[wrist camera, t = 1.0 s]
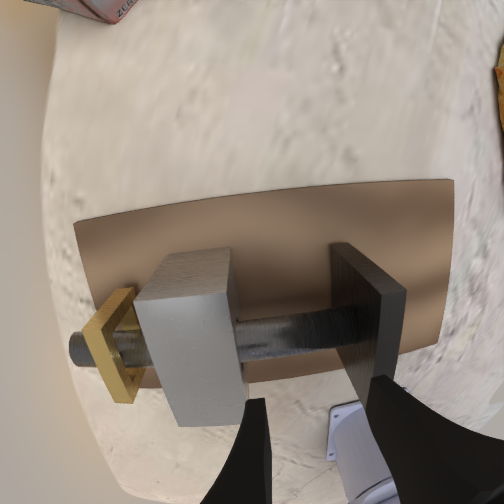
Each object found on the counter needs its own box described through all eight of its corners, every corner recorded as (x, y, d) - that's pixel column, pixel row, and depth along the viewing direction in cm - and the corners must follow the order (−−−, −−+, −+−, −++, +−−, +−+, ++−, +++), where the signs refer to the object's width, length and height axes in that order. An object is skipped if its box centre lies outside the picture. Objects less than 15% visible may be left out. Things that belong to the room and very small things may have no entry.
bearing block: (247, 353, 21) (250, 423, 14) (193, 357, 21) (179, 426, 14) (230, 245, 18) (226, 292, 12) (168, 253, 18) (133, 301, 12)
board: (434, 339, 22) (437, 343, 21) (129, 383, 22) (127, 387, 21) (449, 179, 18) (454, 180, 17) (77, 221, 18) (73, 223, 17)
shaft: (347, 336, 20) (386, 407, 13) (116, 359, 20) (80, 428, 13) (348, 242, 18) (407, 289, 11) (86, 274, 18) (25, 328, 11)
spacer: (152, 352, 19) (132, 403, 14) (137, 353, 19) (114, 402, 14) (133, 287, 17) (100, 329, 12) (116, 288, 17) (81, 330, 12)
